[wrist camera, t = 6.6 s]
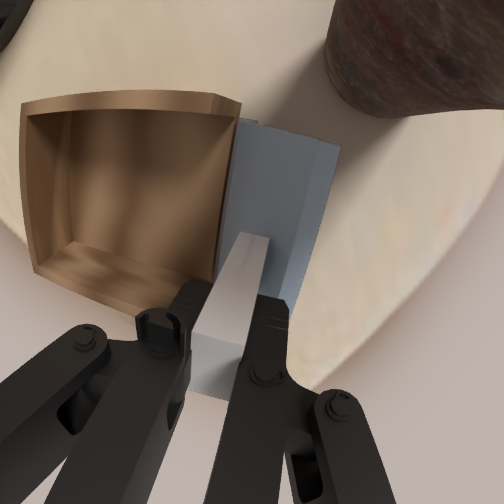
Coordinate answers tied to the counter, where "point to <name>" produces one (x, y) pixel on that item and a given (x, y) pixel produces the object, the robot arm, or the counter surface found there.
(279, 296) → the panel
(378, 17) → the candle
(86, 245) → the box
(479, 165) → the counter surface
